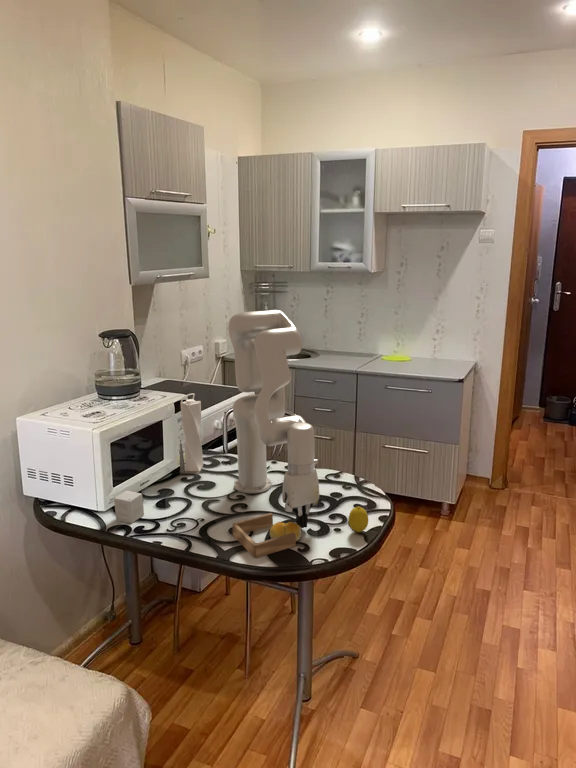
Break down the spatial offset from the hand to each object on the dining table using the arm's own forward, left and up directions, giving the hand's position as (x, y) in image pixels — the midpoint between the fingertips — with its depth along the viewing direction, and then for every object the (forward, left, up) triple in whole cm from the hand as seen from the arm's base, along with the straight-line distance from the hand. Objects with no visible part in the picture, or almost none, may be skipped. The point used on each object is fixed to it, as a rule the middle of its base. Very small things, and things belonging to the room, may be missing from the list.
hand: (301, 525), depth 170 cm
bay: (0, -12, -1) cm, 12 cm away
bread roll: (+1, -6, -1) cm, 6 cm away
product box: (-33, -41, -1) cm, 53 cm away
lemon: (+10, +13, -1) cm, 16 cm away
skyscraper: (-59, -11, -2) cm, 60 cm away
